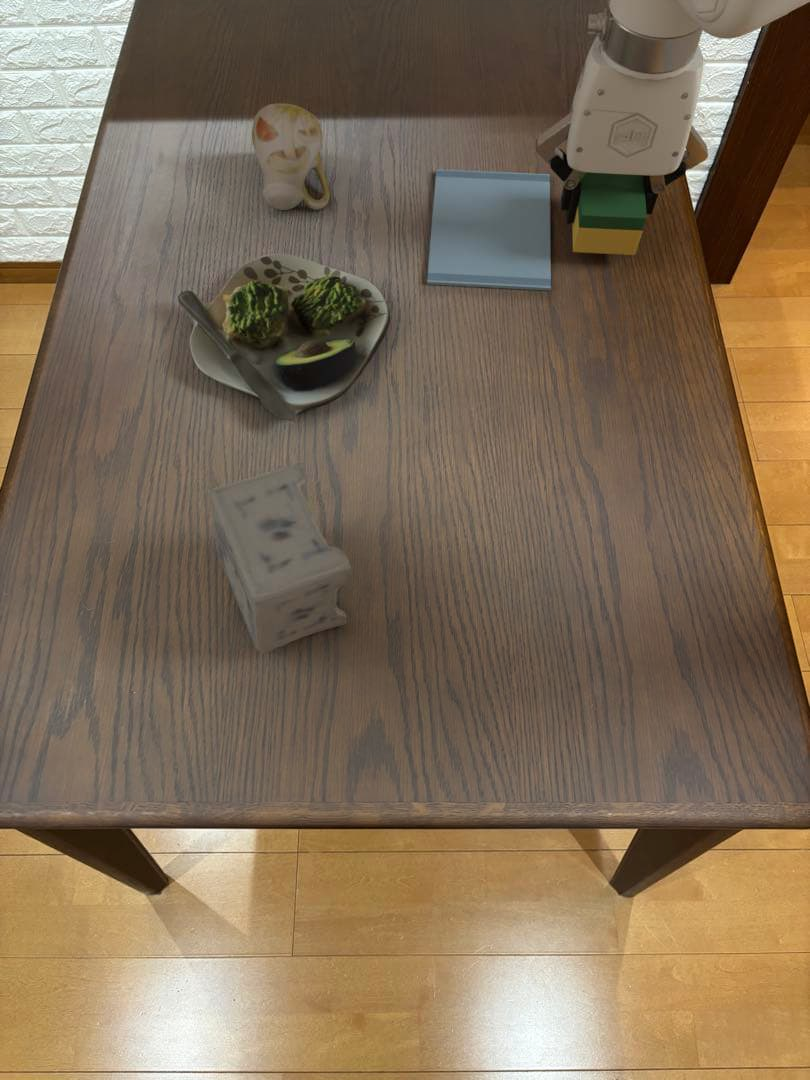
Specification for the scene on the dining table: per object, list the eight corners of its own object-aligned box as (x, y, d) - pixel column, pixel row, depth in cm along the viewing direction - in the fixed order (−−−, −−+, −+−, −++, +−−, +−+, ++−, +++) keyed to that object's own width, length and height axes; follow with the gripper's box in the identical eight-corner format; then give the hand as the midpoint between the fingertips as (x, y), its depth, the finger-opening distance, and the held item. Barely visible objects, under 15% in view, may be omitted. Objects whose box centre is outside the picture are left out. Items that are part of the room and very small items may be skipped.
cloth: (549, 177, 87) (550, 173, 87) (550, 291, 80) (550, 287, 80) (436, 172, 88) (436, 168, 87) (426, 284, 80) (427, 281, 80)
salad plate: (135, 368, 76) (119, 334, 72) (237, 242, 83) (228, 204, 79) (318, 446, 72) (313, 415, 68) (409, 306, 79) (409, 270, 75)
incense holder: (361, 619, 65) (352, 562, 55) (261, 662, 63) (235, 611, 54) (313, 519, 69) (298, 450, 59) (218, 557, 67) (188, 493, 58)
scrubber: (571, 187, 84) (579, 149, 80) (630, 190, 84) (641, 151, 80) (572, 252, 80) (581, 215, 76) (635, 255, 80) (647, 218, 76)
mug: (251, 225, 84) (222, 118, 79) (282, 201, 92) (258, 102, 87) (319, 216, 82) (294, 105, 77) (345, 192, 90) (324, 90, 84)
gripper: (542, 58, 64) (515, 238, 80) (767, 67, 63) (695, 247, 79) (542, 0, 67) (516, 185, 83) (756, 9, 67) (688, 193, 83)
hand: (604, 214), depth 81 cm, fingers closed on scrubber, 6 cm apart
